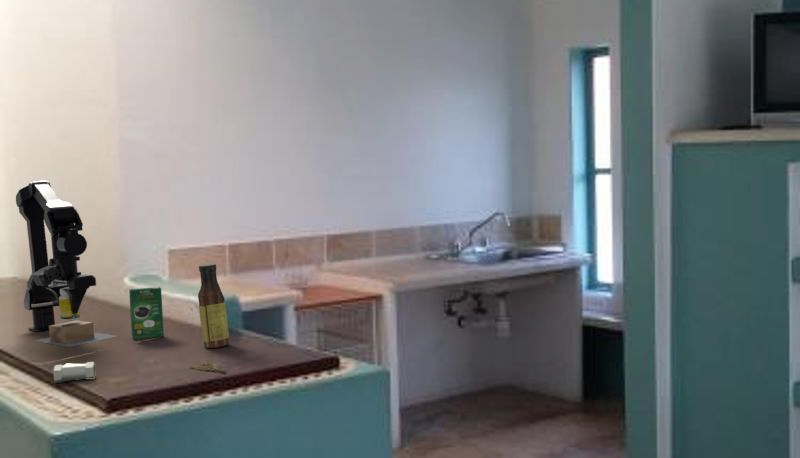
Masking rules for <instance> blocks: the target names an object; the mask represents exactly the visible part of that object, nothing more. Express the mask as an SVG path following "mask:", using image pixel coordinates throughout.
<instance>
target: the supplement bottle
mask: <svg viewBox="0 0 800 458" xmlns="http://www.w3.org/2000/svg"><path fill="white" fill-rule="evenodd" d="M68 288H69V287H68ZM63 289H67V288H61V289H60V294H61V296H60V297H59V305H60V306H59V314H60V321H61V322H70V321H75V320H78V321H79V320H80V318H81V316H80V309H79V310H78V313H77V314H73V313H72V309H71V304H70V299H69V295H68V293H66V292H65V291H64V290H63Z"/></svg>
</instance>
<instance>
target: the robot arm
mask: <svg viewBox="0 0 800 458" xmlns="http://www.w3.org/2000/svg"><path fill="white" fill-rule="evenodd" d="M15 203H16V206H17V208H18V212H19V214H20V215H21V216H22V217H23V219H24V221H25V222H26V229H27V230H26V231H27V237H28V246H29V247H28V248H29V255H30V266H31V274H30V276H29V278H28V280H27V282H26V289H25V295H24V298H23V304H24V305H23V306H24V309H25V310H28V311H31V315H32V316H31V317H32V327H28V328H27V329H28V331H35V332H44V331H49V326H50V325H55V324H56V320H55V319H56V318H55V311H54V307H60V305H59V297H60V296H61V294H60V289H61V288H67V289H63V290H64V291H65V292H66V293H68V295H69V299H70V304H71V309H72V313H73V314H77V313H78V310H79V311H80V307H81V304H82V302H83V299H84V297H85V295H86V293H87V291H88V289H89V288H90V287H96V286H97V278H96V276H94V275H93V274H82V271H78V261H81V258H80V256H81V255H83V254H84V253H85V252H86V250H87V246H88V241H87V240H86V237H85V236H84V235H82V234H81V233H79V232H80V231H83V225H84V224H83V221H82V219H81V216H80V214H79V213H78V211H77V208H75V207H74V206H73V204H71V203H70V202H68V201H63V200H61V199H60V198H59V196H58V195H57V194H56V192H55V191H54V190H53V188H52V187H51V183H50V181H47V180H38V181H32V182H29V183H28V185H26V186H24V187H23V188H20V189H19V190H18V192H17V193H16V194H15ZM45 227H46V228H47V229H48V231H49V234H50V239H51V240H50V241H51V249H52V257H51V258H49V257H48V256H49V254H48V245H47V238H46V237H47V236H46V229H45ZM68 287H69V288H68Z"/></svg>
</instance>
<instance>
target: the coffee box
mask: <svg viewBox="0 0 800 458" xmlns="http://www.w3.org/2000/svg"><path fill="white" fill-rule="evenodd" d="M128 292H129V308H130V311H129V312H130V325H131V326H130V327H131V338H132V340H140V339H141V340H143V339H151V338H152V339H159V338H164V337H165V330H164V316H163V313H164V312H163V298H162V288H161V287H160V286H157V287H156V286H155V287H145V288H143V287H142V288H130V289H129V290H128Z"/></svg>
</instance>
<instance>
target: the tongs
mask: <svg viewBox="0 0 800 458" xmlns="http://www.w3.org/2000/svg"><path fill="white" fill-rule="evenodd" d="M204 364H205V365H207V366H202V365H204ZM208 366H209V367H208ZM211 367H212V368H211ZM189 368H190V369H193V368H195V369H194V370H199V369H202V370H201V371H205V370H210V371H209V372H211V371H216V372H215V373H217V372H221V373H220V374H222V373H225V374H224V375H227V374H226V373H228V372H227V370H223V369H220V368H219V367H218V366H217V365H216V364H214V363H211V362H205V363H202V364H201V363H200V364H199V365H193V366H192V365H191V366H190V367H189ZM196 368H197V369H196ZM215 369H216V370H215Z"/></svg>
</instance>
